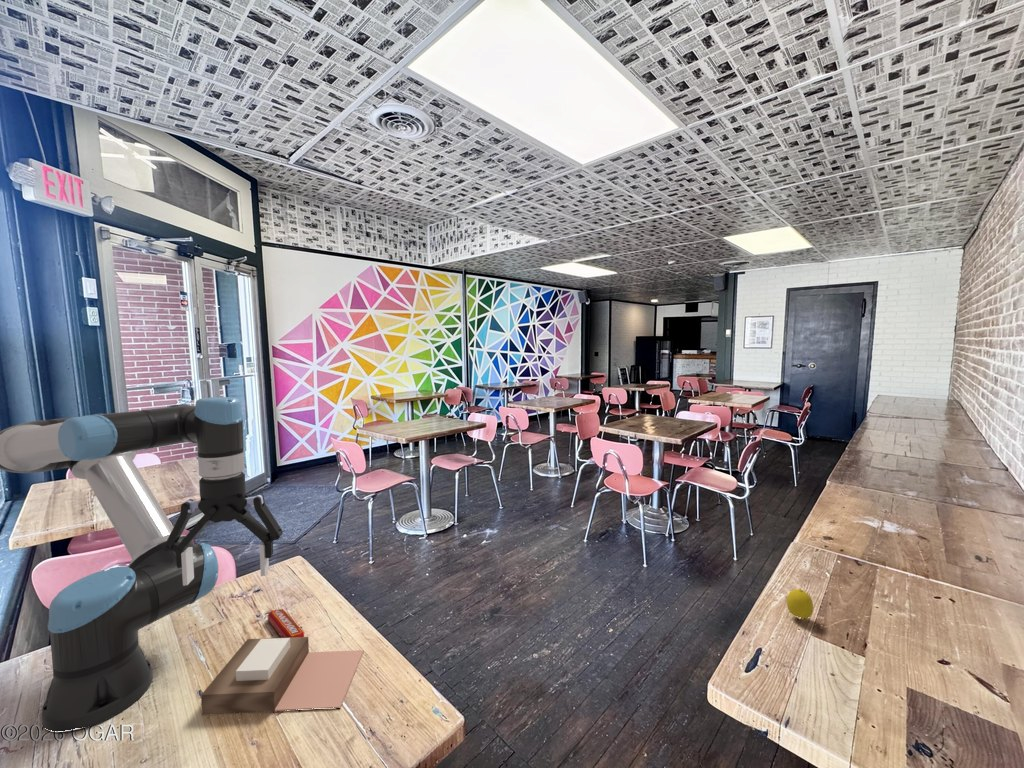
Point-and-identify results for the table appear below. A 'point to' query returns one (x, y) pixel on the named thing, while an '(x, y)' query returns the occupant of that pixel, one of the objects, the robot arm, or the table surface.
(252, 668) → the tile
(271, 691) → the serving board
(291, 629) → the candy bar
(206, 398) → the robot arm
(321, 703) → the mat
